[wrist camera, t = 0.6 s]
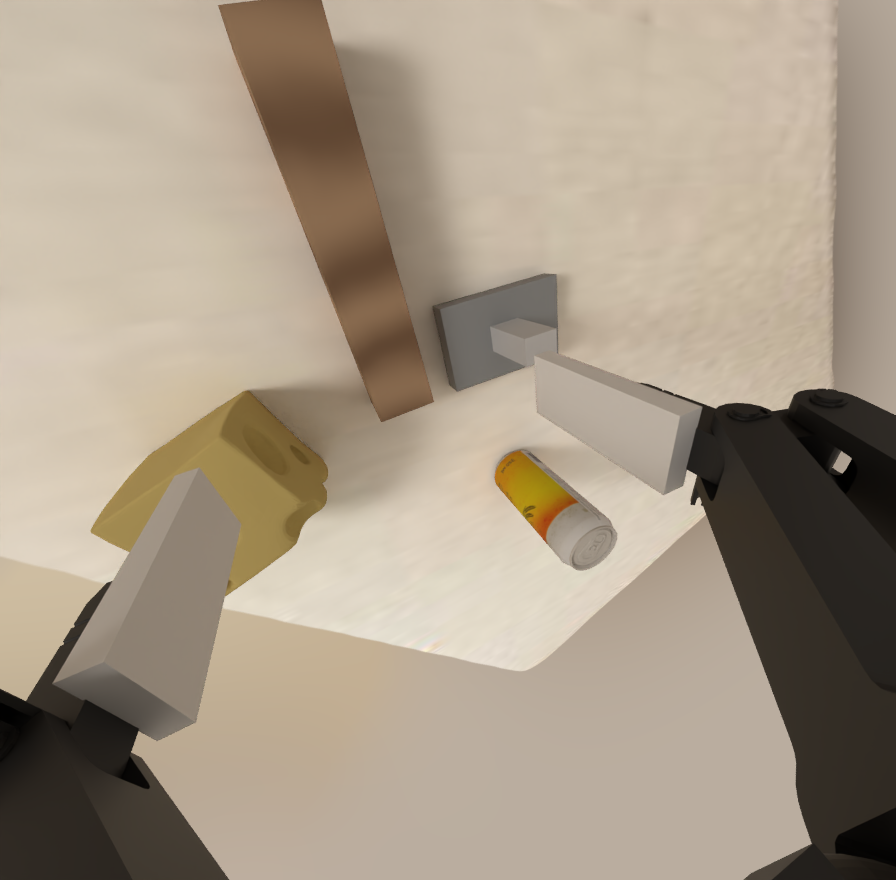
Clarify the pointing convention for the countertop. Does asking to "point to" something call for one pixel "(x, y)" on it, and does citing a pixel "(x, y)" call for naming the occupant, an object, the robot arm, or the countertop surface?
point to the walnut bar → (330, 188)
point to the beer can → (556, 510)
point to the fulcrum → (497, 330)
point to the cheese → (230, 483)
